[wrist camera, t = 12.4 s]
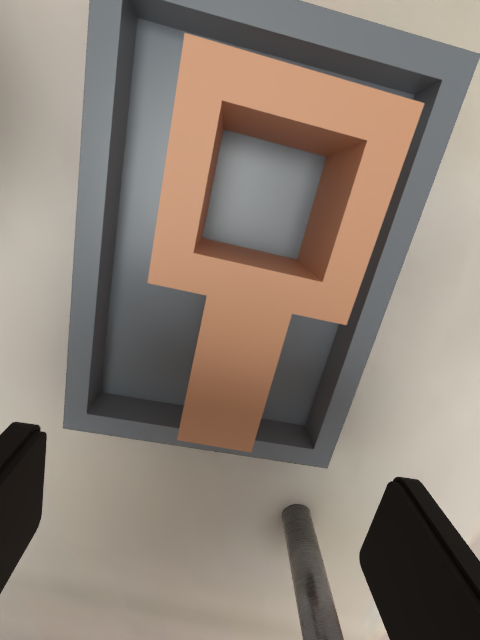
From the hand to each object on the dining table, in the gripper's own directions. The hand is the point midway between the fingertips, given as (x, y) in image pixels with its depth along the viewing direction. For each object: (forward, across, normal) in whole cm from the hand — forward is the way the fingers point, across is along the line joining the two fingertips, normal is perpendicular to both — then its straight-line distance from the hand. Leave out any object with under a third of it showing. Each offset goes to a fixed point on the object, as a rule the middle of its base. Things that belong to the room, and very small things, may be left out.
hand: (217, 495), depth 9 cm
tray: (+9, 0, -5) cm, 10 cm away
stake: (+10, -7, +10) cm, 15 cm away
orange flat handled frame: (+8, 0, -5) cm, 10 cm away
